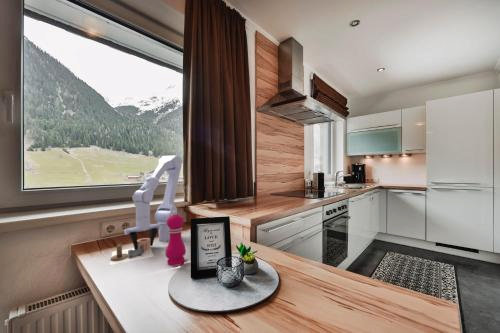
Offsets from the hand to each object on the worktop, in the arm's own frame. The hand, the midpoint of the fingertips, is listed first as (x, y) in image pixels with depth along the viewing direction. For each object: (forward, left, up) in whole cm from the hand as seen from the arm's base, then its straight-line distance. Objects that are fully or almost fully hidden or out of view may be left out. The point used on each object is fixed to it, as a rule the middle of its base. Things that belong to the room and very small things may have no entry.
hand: (143, 247), depth 96 cm
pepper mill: (-10, +22, -2) cm, 24 cm away
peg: (+9, +6, -1) cm, 11 cm away
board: (+5, +4, -2) cm, 6 cm away
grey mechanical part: (+3, +6, -1) cm, 7 cm away
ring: (0, 0, -1) cm, 1 cm away
